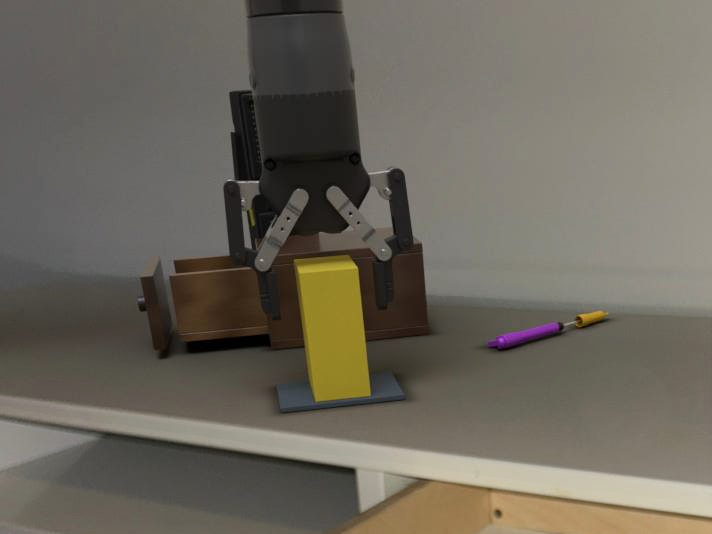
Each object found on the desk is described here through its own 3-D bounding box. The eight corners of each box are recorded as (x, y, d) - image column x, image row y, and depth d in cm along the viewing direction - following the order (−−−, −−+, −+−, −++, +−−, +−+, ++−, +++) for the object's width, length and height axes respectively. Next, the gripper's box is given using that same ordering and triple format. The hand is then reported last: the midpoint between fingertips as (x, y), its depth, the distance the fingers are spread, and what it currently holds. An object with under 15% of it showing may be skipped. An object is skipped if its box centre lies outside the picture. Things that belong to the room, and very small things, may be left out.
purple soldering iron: (503, 349, 99) (611, 318, 109) (501, 336, 99) (609, 307, 108) (484, 352, 101) (592, 322, 111) (481, 339, 100) (590, 310, 110)
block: (315, 402, 86) (298, 272, 81) (309, 381, 92) (293, 259, 87) (371, 396, 86) (358, 267, 82) (361, 375, 92) (348, 254, 88)
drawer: (141, 351, 103) (126, 277, 100) (149, 326, 114) (136, 258, 111) (305, 335, 106) (295, 263, 102) (297, 312, 116) (289, 245, 113)
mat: (281, 412, 85) (280, 408, 85) (276, 388, 92) (276, 383, 92) (405, 399, 86) (404, 394, 86) (391, 376, 93) (391, 371, 93)
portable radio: (263, 321, 118) (226, 64, 106) (250, 312, 123) (212, 65, 111) (331, 311, 121) (302, 60, 109) (315, 303, 125) (286, 61, 114)
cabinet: (271, 349, 105) (258, 256, 101) (266, 322, 117) (254, 238, 113) (428, 334, 107) (422, 242, 103) (408, 309, 119) (401, 226, 115)
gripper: (392, 82, 83) (409, 297, 90) (205, 93, 81) (239, 313, 88) (406, 81, 76) (423, 314, 84) (203, 93, 74) (240, 331, 82)
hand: (329, 313), depth 86 cm, fingers open, 8 cm apart
